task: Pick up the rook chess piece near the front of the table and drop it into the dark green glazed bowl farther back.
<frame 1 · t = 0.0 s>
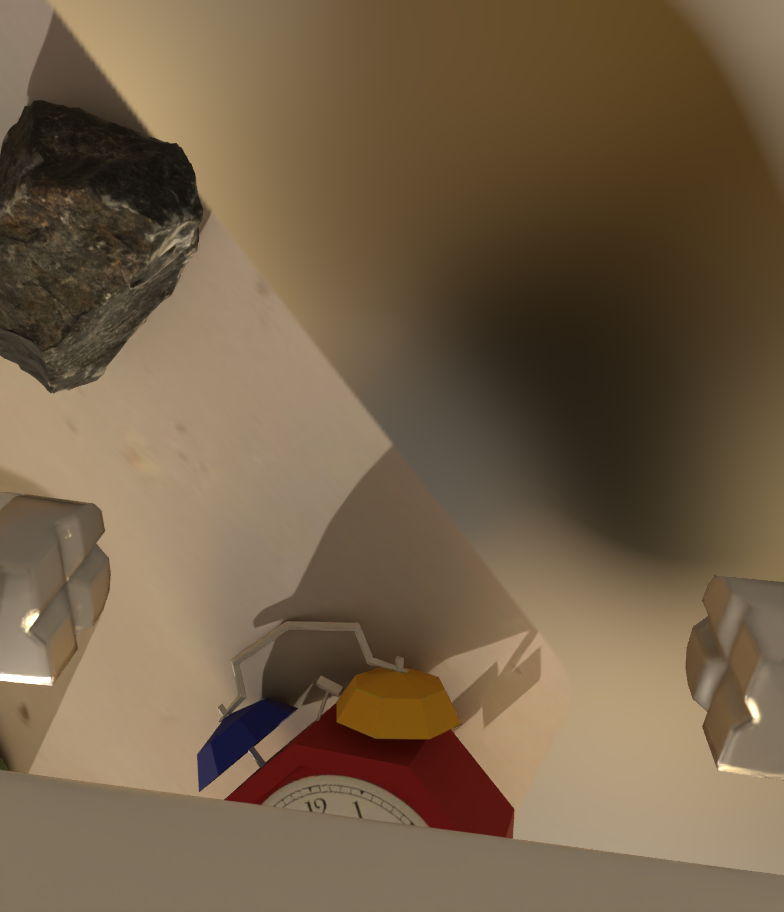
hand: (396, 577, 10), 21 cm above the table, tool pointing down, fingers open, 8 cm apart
rock: (15, 342, 29), point 2 cm above the table
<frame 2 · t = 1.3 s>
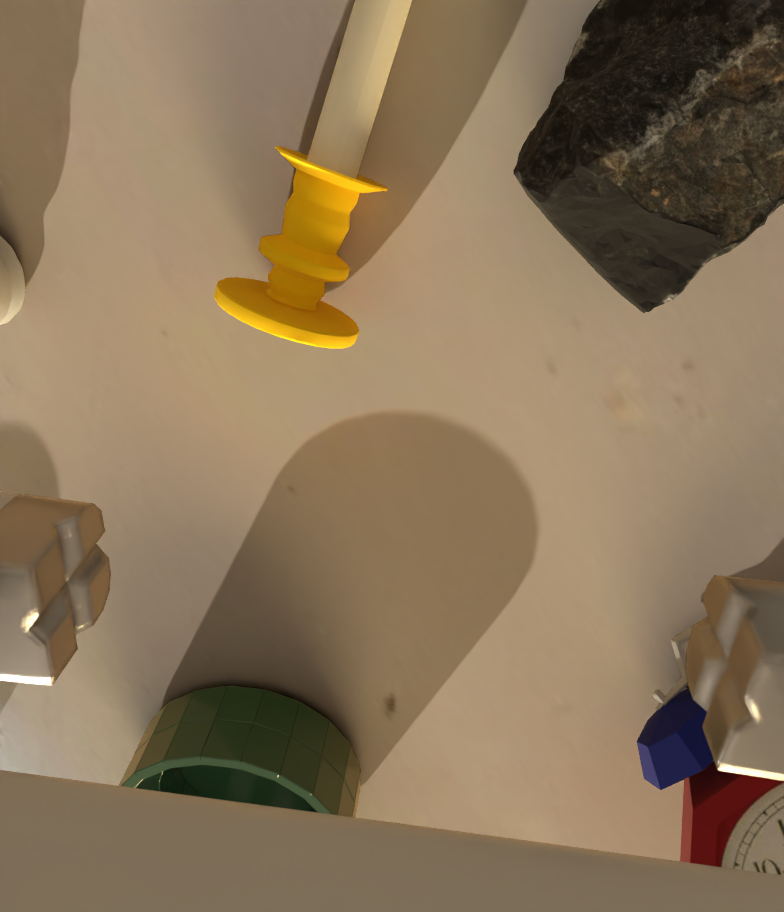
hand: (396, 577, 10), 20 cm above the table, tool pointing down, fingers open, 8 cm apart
rock: (568, 257, 25), point 2 cm above the table
candle: (284, 324, 26), point 3 cm above the table
bowl: (254, 758, 42), on the table
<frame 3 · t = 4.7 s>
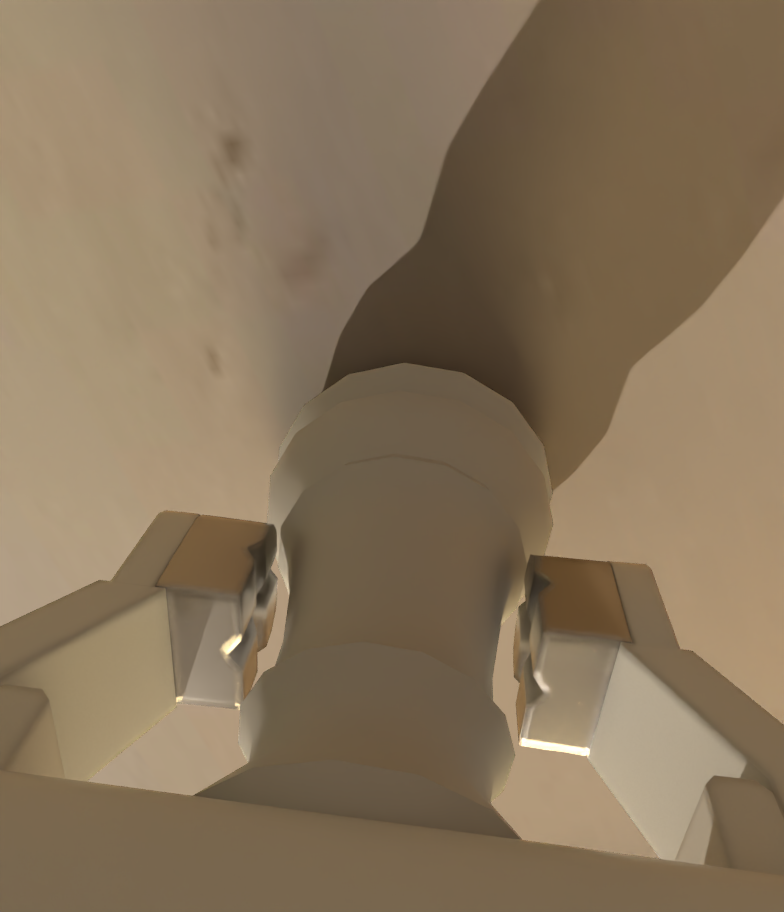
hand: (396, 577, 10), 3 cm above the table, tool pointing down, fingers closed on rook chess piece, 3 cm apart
rook chess piece: (414, 472, 13), on the table, touching gripper
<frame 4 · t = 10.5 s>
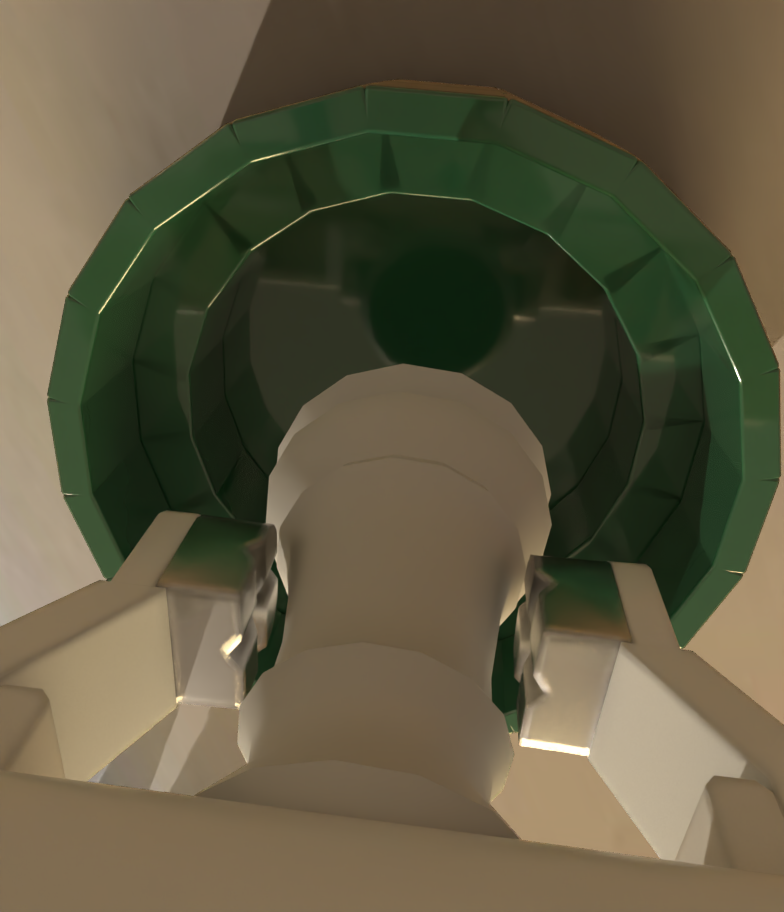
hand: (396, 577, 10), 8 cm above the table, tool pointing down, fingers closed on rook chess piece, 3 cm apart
rook chess piece: (413, 473, 13), point 5 cm above the table, touching gripper
bowl: (418, 378, 17), on the table
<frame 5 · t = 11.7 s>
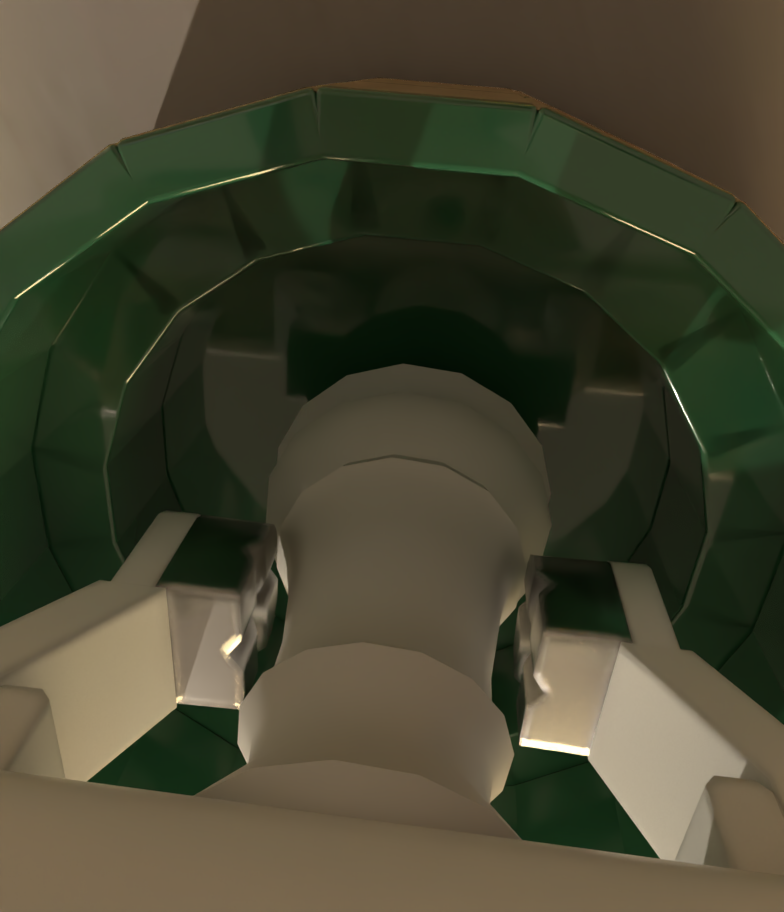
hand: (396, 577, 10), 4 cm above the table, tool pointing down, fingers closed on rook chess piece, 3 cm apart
rook chess piece: (413, 473, 13), point 1 cm above the table, touching gripper
bowl: (410, 454, 14), on the table
when the fingers open (3 cm above the table, at t = 12.2 s): rook chess piece stays where it is, resting on bowl.
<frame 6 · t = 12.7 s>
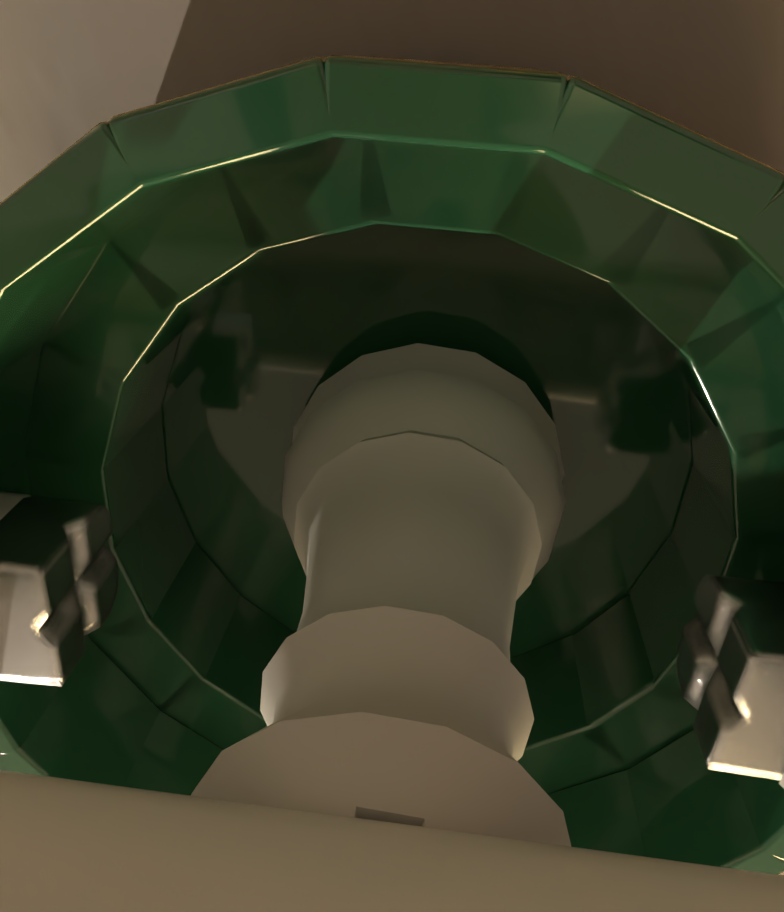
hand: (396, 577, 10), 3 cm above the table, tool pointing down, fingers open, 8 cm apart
rook chess piece: (426, 454, 13), resting on bowl
bowl: (420, 455, 13), on the table
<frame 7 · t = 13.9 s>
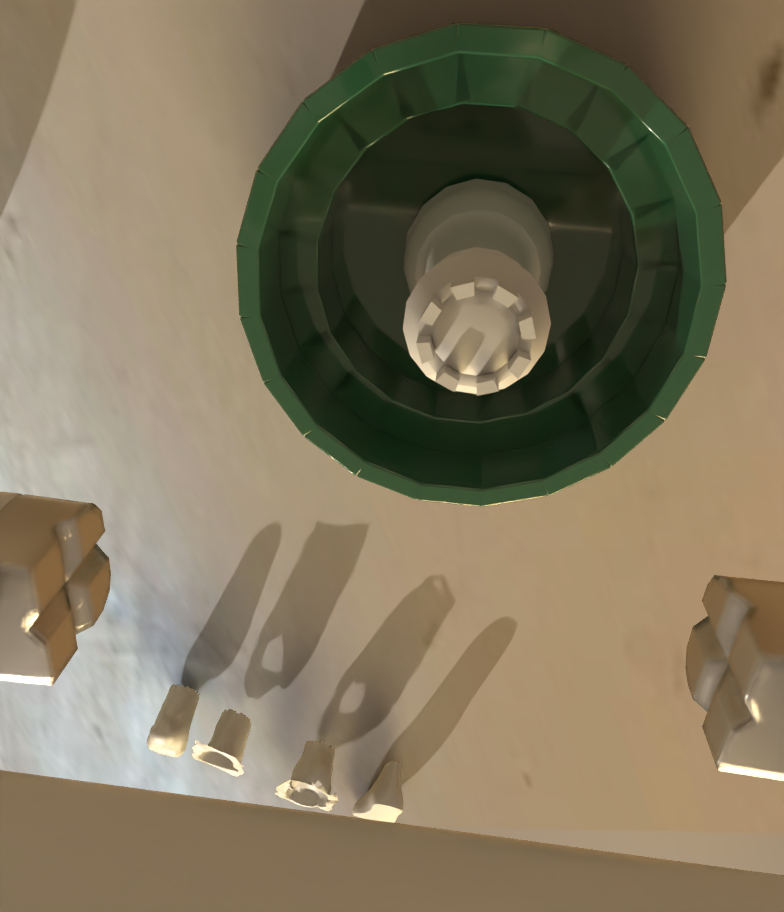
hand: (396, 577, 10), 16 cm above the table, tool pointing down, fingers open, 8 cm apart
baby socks: (271, 793, 33), point 2 cm above the table
rook chess piece: (477, 252, 23), resting on bowl
bowl: (473, 255, 23), on the table
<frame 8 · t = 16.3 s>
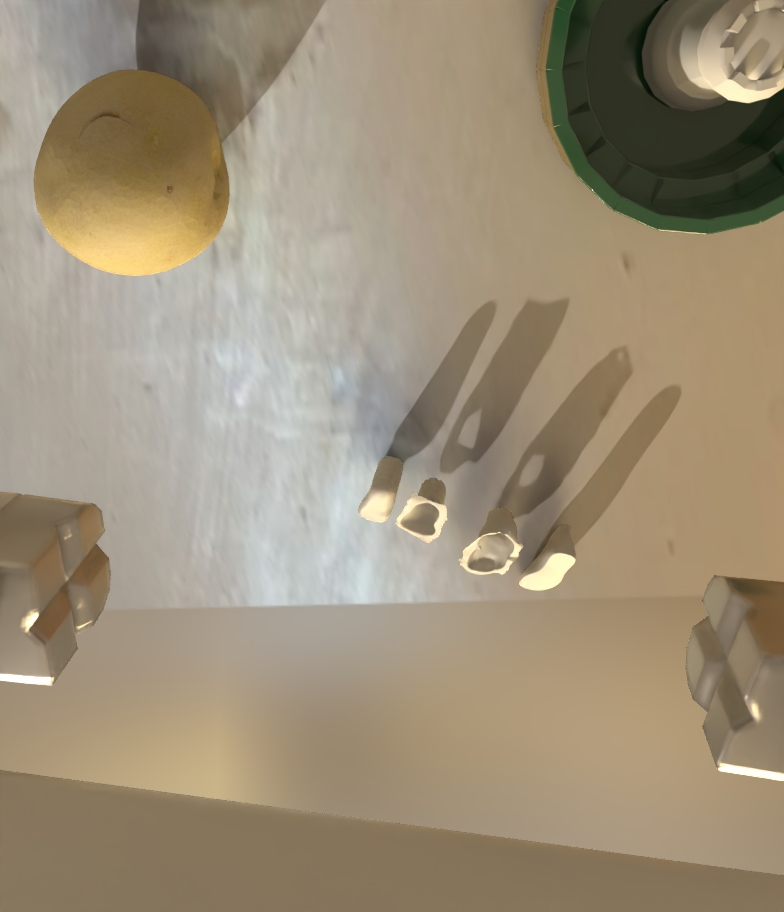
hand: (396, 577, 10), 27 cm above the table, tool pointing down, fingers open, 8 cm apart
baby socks: (463, 550, 40), point 2 cm above the table
potato: (171, 165, 34), on the table
rook chess piece: (695, 48, 30), resting on bowl
bowl: (689, 54, 30), on the table
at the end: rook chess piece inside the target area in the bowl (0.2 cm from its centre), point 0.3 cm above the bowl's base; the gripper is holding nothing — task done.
